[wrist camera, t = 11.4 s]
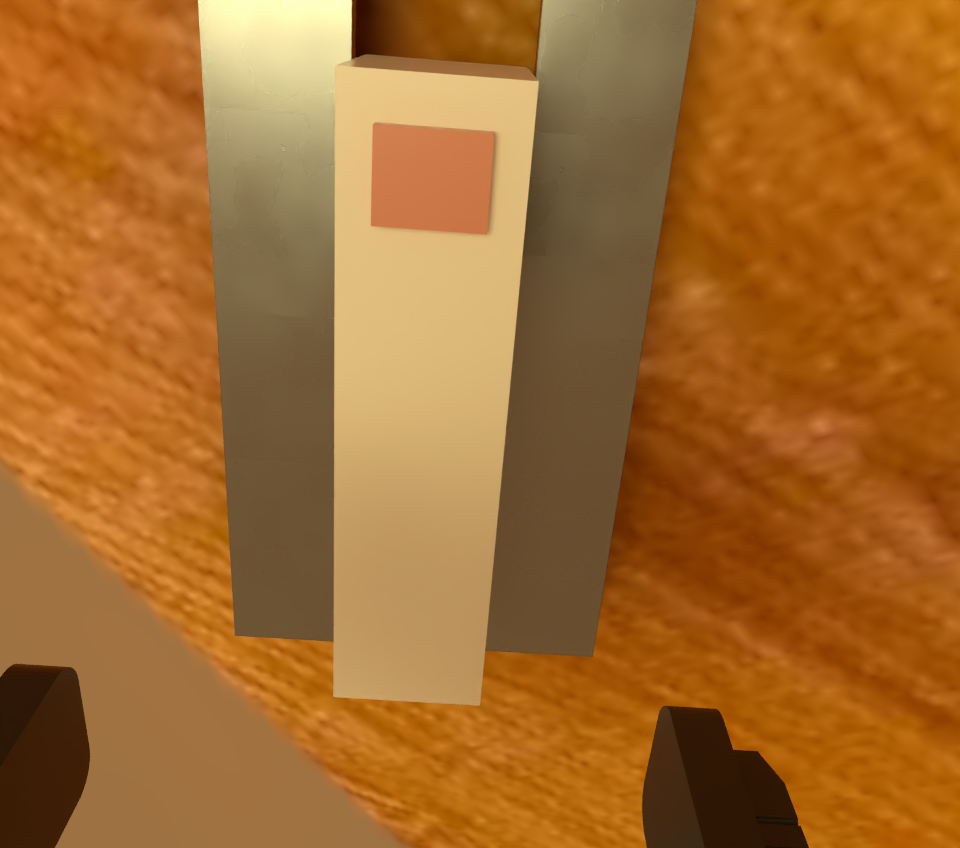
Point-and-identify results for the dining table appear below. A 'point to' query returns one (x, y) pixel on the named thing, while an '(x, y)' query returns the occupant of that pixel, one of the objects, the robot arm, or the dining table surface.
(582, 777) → the dining table surface
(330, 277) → the slotted board
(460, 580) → the cream rectangular block
